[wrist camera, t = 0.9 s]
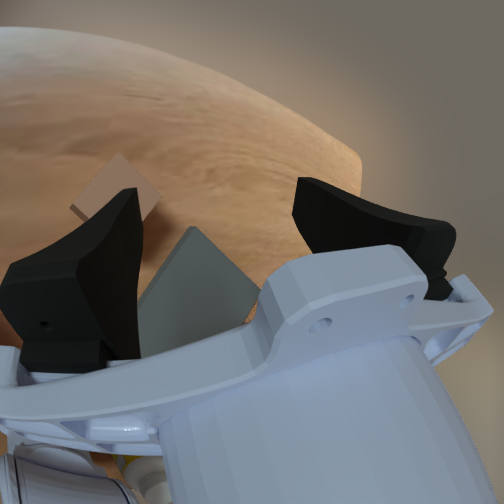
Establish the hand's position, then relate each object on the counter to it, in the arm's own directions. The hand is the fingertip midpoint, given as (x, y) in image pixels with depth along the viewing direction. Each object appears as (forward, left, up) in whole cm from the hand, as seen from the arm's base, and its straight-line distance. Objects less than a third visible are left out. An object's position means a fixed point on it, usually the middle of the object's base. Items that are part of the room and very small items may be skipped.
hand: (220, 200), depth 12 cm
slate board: (-6, -12, -15) cm, 20 cm away
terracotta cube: (-1, +2, -15) cm, 15 cm away
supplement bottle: (-21, -13, -15) cm, 29 cm away
